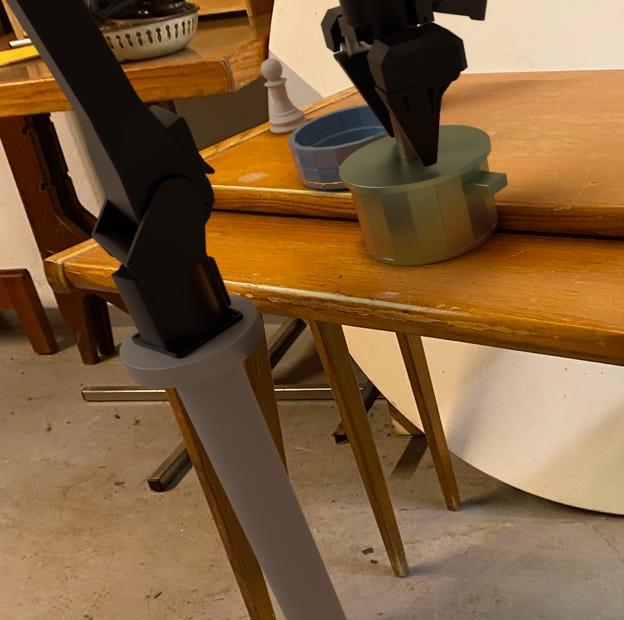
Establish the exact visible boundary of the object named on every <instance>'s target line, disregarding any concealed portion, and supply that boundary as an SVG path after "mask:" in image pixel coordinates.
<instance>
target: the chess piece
mask: <svg viewBox="0 0 624 620" xmlns="http://www.w3.org/2000/svg"><path fill="white" fill-rule="evenodd" d="M260 65H261V66H260V72H261V74H262V76H263V77H264V79H265V80H267V81H266V82H265V83H263V85H264V87H266V88H267V89H269V92H270V95H271V98H272V100H273V111H272V113H271V114H272V116H271V117H270V118H269V119H268V123H269V124H270V128H269V130H270V131H271V132H272V133H273V134H276V135H285V134H289V133H290V134H291V133H292V132H294V131H295V130H296V129H297V128H298V127H299V126H301V125H303V124H305V123H306V122H308V121H309V120H308V118H307V117H305V111H304V110H301V109H299V108H298V107H297V106H295V105H294V104H293V103H292V101H291V100H290V98H289V95H288V91H287V88H286V84H287V80H288V78H287V77H282V75H283V65H282V63H281V62H280V61H279V60H278V59H276V58H267V59H265V60H264V61H263V62H262V63H261V64H260Z"/></svg>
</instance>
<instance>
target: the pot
mask: <svg viewBox="0 0 624 620" xmlns="http://www.w3.org/2000/svg"><path fill="white" fill-rule="evenodd" d="M340 167H341V165H340V166H339V169H340ZM508 186H509V182H508V175H507V173H505V172H497V171H490V167H489V160H488V157H487V158H486V159H485V160H484V161H483V162H482V163H481V164H480V165H478V166H477V167H476V168H474V169H472V170H471V171H469V172H467V173H465V174H463V175H461V176H459V177H457V178H455V179H452V180H450V181H447V182H444V183H442V184H438V185H435V186H432V187H428V188H424V189H420V190H415V191H410V192H403V193H394V194H366V193H360V192H356V191H353V190H350V189H349V190H350V194H351V197H352V201H353V204H354V208H355V212H356V215H357V219H358V222H359V226H360V229H361V233H362V237H363V240H364V243H365V247H366V249H367V251H368V253H369V255H370V256H371V257H372V258H373V259H375V260H376V261H377V262H378V261H379V262H380V263H383V264H387V265H393V266H401V267H403V266H404V267H407V266H409V267H410V266H411V267H413V266H422V265H423V266H424V265H430V264H435V263H439V262H444V261H447V260H450V259H454V258H457V257H459V256H461V255H464V254H466V253H469V252H471V251H473V250H475V249H476V248H478V247H479V246H481V245H483V244H484V243H485V242H487V241H488V240H489V239H490V238H491V237H492V236H493V235H494V233H496V230H497V228H498V223H499V220H498V219H499V216H498V212H497V206H496V200H495V195H496V194H497V193H499V192H500V191H502V190H504V189H505V188H507V187H508Z"/></svg>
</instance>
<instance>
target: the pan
mask: <svg viewBox="0 0 624 620" xmlns="http://www.w3.org/2000/svg"><path fill="white" fill-rule="evenodd" d="M387 136H389V135H388V133H387V132H386V130H385V129H384V127H383V126H382V125H381V123H380V122H379V120H378V119H377V117H376V116H375V114H374V113H373V112H372V110H371V109H370V107H369V106H368V104H367V103H365V104H358V105H353V106H349V107H343V108H339V109H336V110H332V111H330V112H327V113H324V114H321V115H319V116H315V117H314V118H312V119H310V120H308V121H307V122H306V123H305V124H303V125H301V126H299V127H298V128H297V129H296V130H295V131H293V132H290V134H289V135H288V141H287V144H288V148H289V150H290V154H291V157H292V160H293V163H294V166H295V170H296V172H297V176H298V179H299V182H301V183H303V184H304V185H305V186H307V187H308V188H313V189H314V188H315V189H321V190H326V191H340V190H349V189H348V188H347V187H345V186H344V185H343V183H338V184H325V185H322V184H315V183H308V182H306V181H309V182H318V183H333V182H341V178H340V175H339V166H340V165H342V163H343V162H344V161H345V160H346V159H347V158H348V157H349V156H350V155H351V154H353V153H354V152H356V151H357V150H359V149H360V148H362V147H364V146H366V145H368V144H370V143H372V142H374V141H377V140H379V139H382V138H384V137H387ZM301 178H302V179H301ZM303 179H304V180H305V181H304V180H303Z"/></svg>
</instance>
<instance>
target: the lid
mask: <svg viewBox="0 0 624 620" xmlns="http://www.w3.org/2000/svg"><path fill="white" fill-rule="evenodd" d="M389 114H390V118H391V122H392V126H393V130H394V135H395V137H394V138H391V137H390V136H387V137H384V138H382V139H379V140H377V141H374V142H372V143H370V144H368V145H366V146H364V147H362V148H360V149H359V150H357V151H356V152H354V153H353V154H351V155H350V156H349V157H348V158H347V159H346V160H345V161H344V162H343V163H342V165H341V167H340V169H339V175H340V178H341V182H342V183H343V185H344V186H345V187H347V188H348V189H347V190H353V191H356V192H360V193H366V194H394V193H403V192H410V191H415V190H420V189H424V188H428V187H432V186H435V185H438V184H442V183H444V182H447V181H450V180H452V179H455V178H457V177H459V176H461V175H463V174H465V173H467V172H469V171H471V170H472V169H474V168H476V167H477V166H478V165H480V164H481V163H482V162H483V161H484V160H485V159H486V158H487V159H488V157H489V156H490V154H491V152H492V141H491V137H490V135H489V134H488V133H487V132H486V131H485V130H483V129H481V128H478V127H474V126H471V125H463V124H439V141H438V157H437V163H436V164H434V165H431V166H428V167H425V166H423V165H422V163H421V161H420V160H419V158H418V157H417V155H416V154H415V152H414V151H413V149H412V147H411V146H410V144H409V143H408V141H407V139H406V138H405V136H404V134H403V133H402V131H401V130H400V128H399V126H398V125H397V123H396V122H395V120H394V118H393V117H392V115H391V113H390V112H389Z"/></svg>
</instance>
